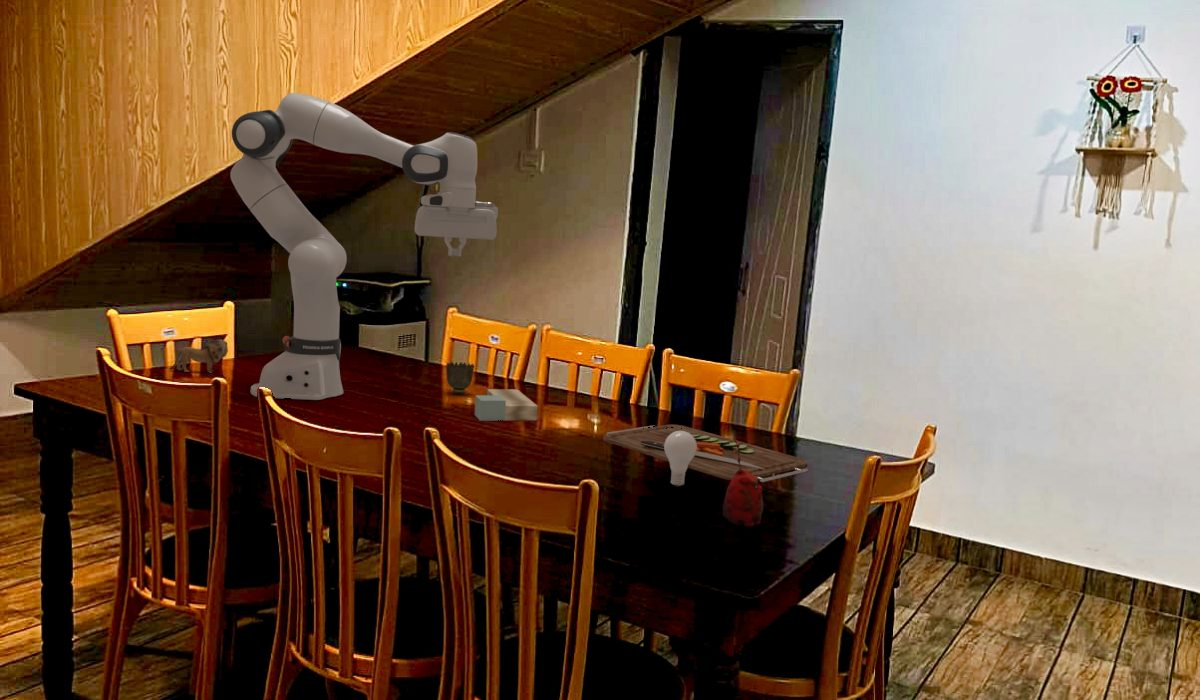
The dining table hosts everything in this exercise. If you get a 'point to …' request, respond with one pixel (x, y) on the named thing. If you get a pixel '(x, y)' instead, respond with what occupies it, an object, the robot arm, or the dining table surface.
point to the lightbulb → (679, 454)
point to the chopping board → (710, 452)
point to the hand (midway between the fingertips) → (454, 256)
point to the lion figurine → (202, 355)
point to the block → (490, 407)
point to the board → (516, 404)
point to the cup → (459, 376)
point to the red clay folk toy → (743, 498)
